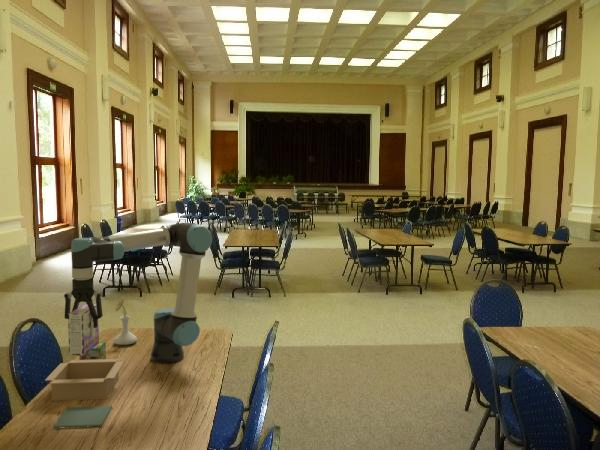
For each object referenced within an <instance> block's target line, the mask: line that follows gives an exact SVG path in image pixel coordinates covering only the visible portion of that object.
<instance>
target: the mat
mask: <svg viewBox="0 0 600 450" xmlns="http://www.w3.org/2000/svg"><path fill="white" fill-rule="evenodd" d="M112 409H113V405H99V406H98V405H93V406H90V405H89V406H69V407H66V408H65V410H64V411H63V412H62V414H61V415H60V417H59V418H58V419H57V420H56V422H55V423H54V425H53V427H52V428H55V429H61V428H60V427H65V428H64V429H71V428H70V427H80V428H91V427H90V426H102V425H104V424H103V423H105V422H106V420H107V418H108V416H109V415H110V412H111V411H112ZM104 421H105V422H104ZM87 426H89V427H87ZM66 427H68V428H66ZM102 427H103V426H102Z"/></svg>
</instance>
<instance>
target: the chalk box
mask: <svg viewBox="0 0 600 450" xmlns="http://www.w3.org/2000/svg"><path fill="white" fill-rule="evenodd" d="M106 345H107V344H106V342H105V341H99V343H98V344H97V345H96V346H95V347H93V348H92V349H91V350H89V351H88V352H87V353H86V354H84V355H83V356H81V355H78V356H79V360H95V359H107V350H106V349H107V348H106V347H107V346H106Z"/></svg>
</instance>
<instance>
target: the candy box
mask: <svg viewBox="0 0 600 450" xmlns="http://www.w3.org/2000/svg"><path fill="white" fill-rule="evenodd" d="M93 305H94V308H95V310H96V313H97V306H96V304H94V303H93ZM92 319H93V318H92V315H91V313H90V310H89V307H88V305H87V303H84V304H82V305H81V306H80V307H79V306H78V308H77V309H76V310H74V311H72V310H71V311H70V313H69V314H68V319H67V320H68V322H67V323H68V324H67V325H68V327H67V329H68V355H69V356H79V355H81V356H83V355H84V354H86V353H87V352H88V351H89V350H91V349H92V348H93V347H95V346H96V345H97V344H98V343H99V342H100V338H99V336H100V334H99V325H98V326H97V328H95V336H94V337H91V320H92Z"/></svg>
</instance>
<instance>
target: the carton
mask: <svg viewBox="0 0 600 450" xmlns="http://www.w3.org/2000/svg"><path fill="white" fill-rule="evenodd" d="M124 363H125V362H124V361H119V358H106V359H95V360H80V359H71V360H70V361H69V362H61V363H59V365H57V367H56V368H55V369H54V370H52V372H51V373H50V374H49V375H48V376H47V377H46V378H45V379H44V381H45V382H50V387H51V401H52V402H53V401H54V402H55V401H77V400H78V401H79V400H80V401H81V400H82V401H83V400H106V399H108V398H109V397H110V395H111V394H112V392H113V391H114V388H115V386H116V385H117V383H118V382H119V380H120V379H119V373H120V372H119V371H121V368H122V366H123V365H124Z"/></svg>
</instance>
